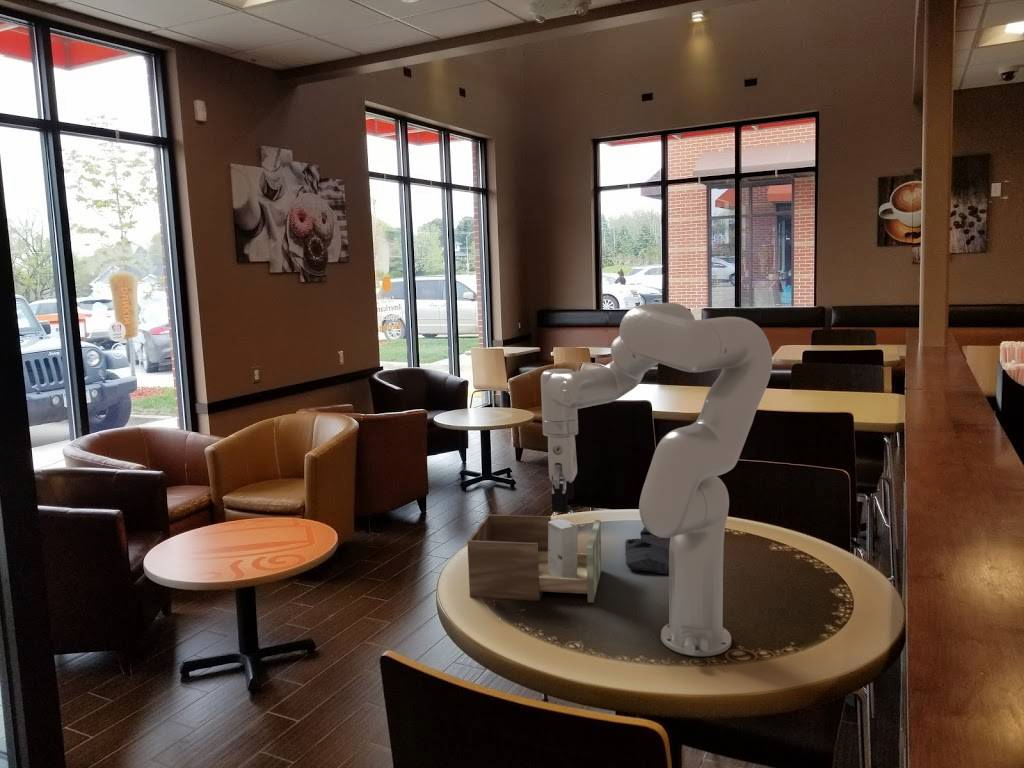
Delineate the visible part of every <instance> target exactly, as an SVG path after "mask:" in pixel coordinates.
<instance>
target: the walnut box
mask: <svg viewBox="0 0 1024 768" xmlns="http://www.w3.org/2000/svg"><path fill="white" fill-rule="evenodd" d="M549 521H552V516H543V515H542V516H540V515H518V514H517V515H514V514H513V515H509V514H490V513H489V514H486V515H485V517H484V518H483V520H482V521H481V522H480V524H479V525H478V526H477V528H476V529H475V531H474V532H473V533H472V534H471V536H470V537H469V538H468V540H467V542H466V544H467V561H468V562H467V563H468V565H467V566H468V583H469V585H468V586H469V587H468V588H469V597H470V598H481V599H482V598H483V599H498V600H499V599H500V600H501V599H502V600H516V601H517V600H518V601H531V602H532V601H534V602H540V599H541V598H542V595H543V592H544V591H539V562H538V551H547V552H548V522H549Z"/></svg>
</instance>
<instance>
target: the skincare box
mask: <svg viewBox="0 0 1024 768" xmlns="http://www.w3.org/2000/svg"><path fill="white" fill-rule="evenodd" d="M578 528H579V525H577V524H575V523H573V522H572V521H570V520H567V519H566V518H558V519H553V520H551V521H549V522H548V573H549V574H550V575H551V576H553V577H563V578H577V554H578V553H579V552H578V544H579V543H578V541H579V540H578V539H579V538H578V537H579V535H578V534H579V529H578Z"/></svg>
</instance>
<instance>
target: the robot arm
mask: <svg viewBox="0 0 1024 768" xmlns="http://www.w3.org/2000/svg"><path fill="white" fill-rule="evenodd" d="M619 325H620V326H619V335H618V336H617V337H615V338H614V339H613V341H612V343H611V346H610V355H611V358H612V361H611V362H609V363H608V364H606V365H604V366H602V367H595V368H594V367H593V368H590V369H589V368H588V369H584V370H577V371H574V370H573V369H570V368H551V369H546V370H544V371H543V372H542V373H541V375H540V392H541V398H540V399H541V418H542V420H541V421H542V435H543V436H545V437H547V449H548V450H547V451H548V452H547V454H548V455H547V456H548V458H547V459H548V475H549V481H550V482H551V483H552V484H551V508H552V509H551V510H552V512H553V513H567V512H568V510H569V509H568V508H569V507H568V500H573V499H574V497H575V496H574V495H575V493H574V480H575V478H576V476H577V474H578V462H577V461H578V460H577V450H576V449H577V448H576V446H577V445H576V436H577V435H578V434H579V418H578V417H579V415H578V410H579V409H583V408H588V407H589V408H590V407H592V406H593V407H594V406H598V405H603V404H610V403H612V402H615V401H616V400H618V399H620V398H622V397H624V396H625V395H626V394H627V393H629V392H631V391H632V390H633V389H635V388H636V387H638V386H639V384H640V383H641V381H642V380H643V377H644V376H645V373H647V372H648V371H649V370H650V369H652V368H654V367H655V366H657V365H658V364H661V365H663V366H667V367H670V368H672V369H677V370H679V371H682V372H687V373H703V372H709V371H713V370H715V371H716V370H720V369H721V372H720V374H719V375H718V377H717V378H716V380H715V381H714V382H713V383H712V385H711V387H709V390H708V392H707V393H706V395H705V399H704V402H703V405H702V408H701V411H700V413H699V415H698V417H697V419H696V421H694V422H693V423H692V424H689V425H686V426H683V427H677V428H675V429H672V430H671V431H669V432H668V433H666V435H664V436H663V437H662V438H661V439H660V441H659V442H658V444H657V446H656V448H655V450H654V453H653V456H652V459H651V463H650V465H649V468H648V471H647V474H646V477H645V481H644V483H643V487H642V490H641V493H640V496H639V497H640V498H639V504H638V511H639V516H640V520H641V522H642V525H643V527H645V528H646V529H647V530H648V531H649V532H650V533H651V534H653V535H655V536H657V537H661V538H670V537H671V539H670V546H669V575H668V589H669V590H668V596H669V598H668V603H669V604H668V607H669V609H668V611H669V612H668V621H669V623H667V624H666V625H664V626H663V627H662V629H661V630H660V640H661V642H662V643H663V644H664V646H666V647H667V648H668V649H670V650H672V651H673V652H675V653H679V654H681V655H685V656H686V655H687V656H691V657H712V656H718V655H720V654H723V653H724V652H726V651H728V650H729V648H730V647H731V645H732V636H731V633H730V632H729V631H728V630H727V629H726V628H725V627H723V621H724V620H723V618H724V617H723V616H724V614H723V613H724V612H723V609H724V607H723V603H724V596H723V595H724V589H723V588H724V546H725V545H724V543H725V531H726V526H727V520H728V515H729V510H730V509H729V508H730V497H729V492H728V488H727V486H726V484H725V483H724V482H723V481H722V479H721V478H720V477H718V476H721V475H724V474H726V473H729V472H730V471H732V470H733V469H734V468H735V467H736V465H737V463H738V461H739V459H740V456H741V453H742V451H743V448H744V445H745V443H746V440H747V437H748V435H749V432H750V430H751V427H752V425H753V422H754V418H755V415H756V412H757V409H758V407H759V405H760V403H761V401H762V398H763V396H764V394H765V391H766V389H767V387H768V384H769V381H770V379H771V374H772V369H773V353H772V349H771V348H772V347H771V345H770V342H769V339H768V337H767V336H766V333H765V332H764V331H763V330H762V328H760V326H759V325H757V324H756V323H755V322H753V321H752V320H750V319H748V318H744V317H739V316H722V317H721V316H720V317H712V318H704V319H696V318H695V316H694V314H693V313H692V311H691V310H690V309H689V308H687V307H686V306H685V305H682V304H680V303H677V302H662V303H660V302H659V303H649V304H648V303H646V304H640V305H637V306H634V307H632V308H630V309H629V310H628V311H627V312H626V313H625V314H624V316H623V318H622V319H621V321H620V324H619Z"/></svg>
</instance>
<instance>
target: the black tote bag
mask: <svg viewBox="0 0 1024 768" xmlns="http://www.w3.org/2000/svg"><path fill="white" fill-rule="evenodd" d="M639 534H640V538H629V539H628V538H627V539H626V540H625V552H624V553H625V554H624V556H625V564H626V566H627V568H628V569H630V570H632V571H633V570H634V571H643V572H650V573H653V574H659V573H660V575H665V574H666V575H667V576H669V546H670V539H671V537H670V538H661V537H657V536H655V535H653V534H651V533H650V532H649V531H648V530H647V529H646V528H645V526H643V528H642V530H641V531H640V533H639Z"/></svg>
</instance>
